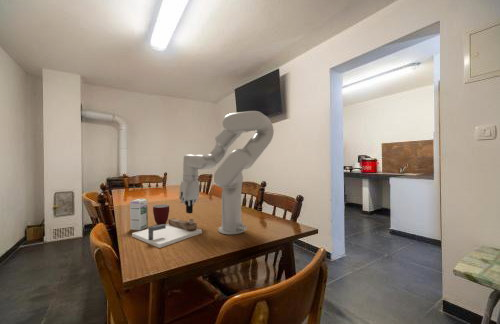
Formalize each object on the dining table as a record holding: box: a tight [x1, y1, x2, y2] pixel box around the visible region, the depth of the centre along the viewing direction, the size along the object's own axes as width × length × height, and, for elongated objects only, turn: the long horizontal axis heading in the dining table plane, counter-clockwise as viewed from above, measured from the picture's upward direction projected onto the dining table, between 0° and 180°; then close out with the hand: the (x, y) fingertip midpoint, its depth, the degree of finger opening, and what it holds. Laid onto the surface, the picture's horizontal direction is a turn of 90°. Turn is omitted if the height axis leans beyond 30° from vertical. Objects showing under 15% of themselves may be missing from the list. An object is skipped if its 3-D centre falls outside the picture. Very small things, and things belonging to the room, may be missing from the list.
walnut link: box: [168, 218, 198, 231], centre depth 109 cm, size 18×5×5 cm, turn 54°
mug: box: [152, 203, 170, 225], centre depth 119 cm, size 11×8×10 cm
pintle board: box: [131, 222, 203, 249], centre depth 102 cm, size 22×22×2 cm
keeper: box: [147, 224, 166, 240], centre depth 94 cm, size 7×2×5 cm, turn 132°
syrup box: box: [129, 198, 149, 231], centre depth 112 cm, size 6×6×14 cm
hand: (189, 212), depth 116 cm, fingers closed
